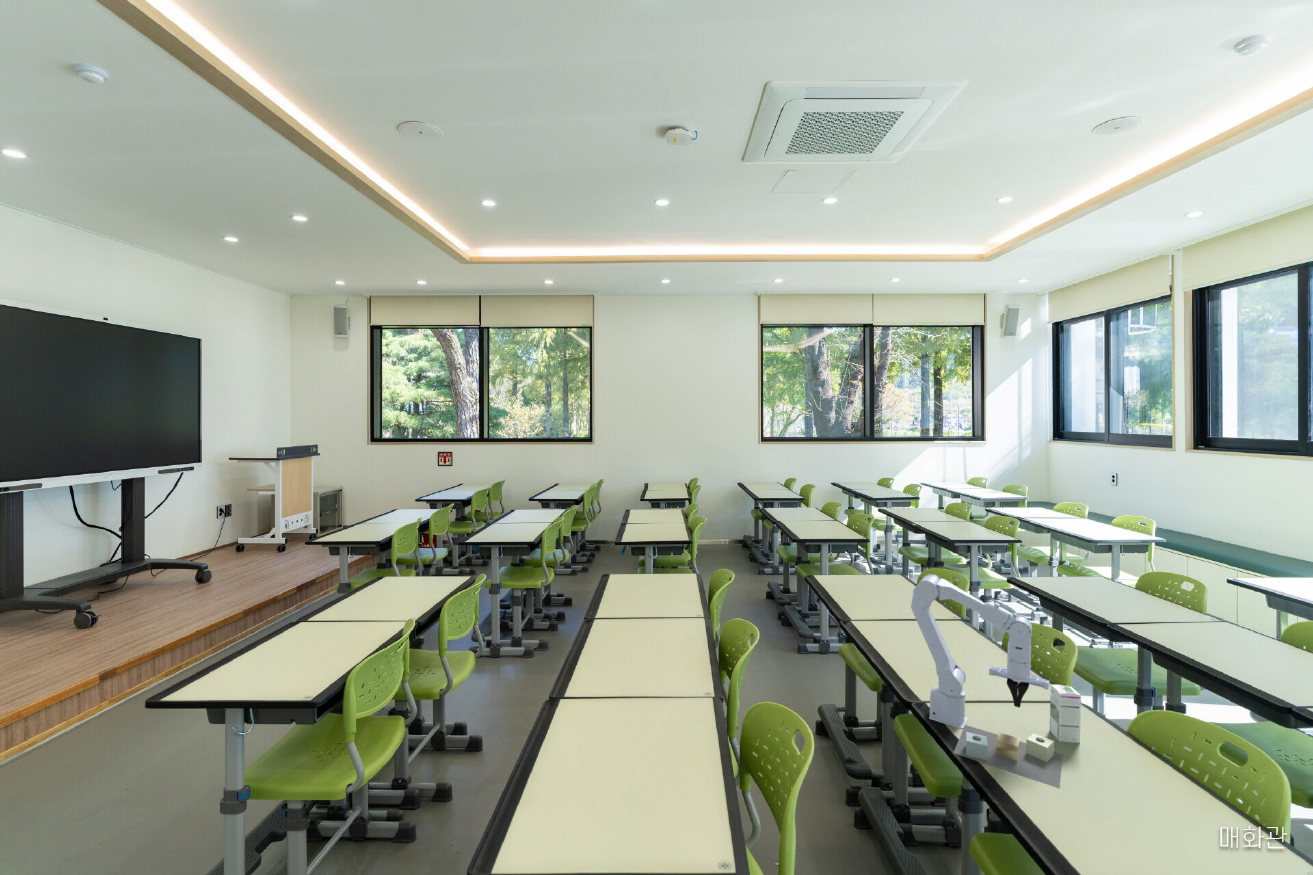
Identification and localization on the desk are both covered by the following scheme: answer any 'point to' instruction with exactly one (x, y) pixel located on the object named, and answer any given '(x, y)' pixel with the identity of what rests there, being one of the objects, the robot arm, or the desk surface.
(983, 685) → the desk surface
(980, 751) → the slate dotted block
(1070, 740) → the syrup box
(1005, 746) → the beech block
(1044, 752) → the sage dotted block
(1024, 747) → the rubber mat
